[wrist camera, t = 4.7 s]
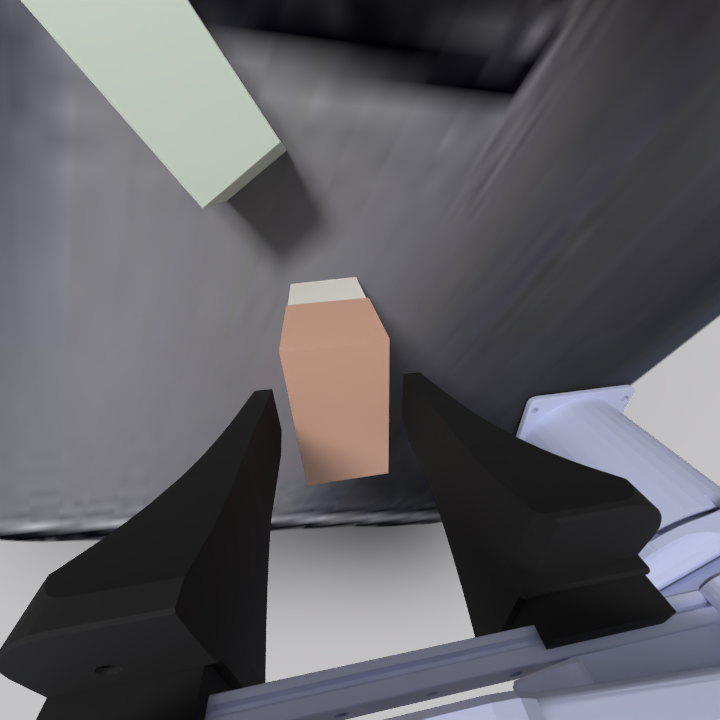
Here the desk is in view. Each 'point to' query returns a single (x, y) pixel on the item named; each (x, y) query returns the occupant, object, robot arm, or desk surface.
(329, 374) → the terracotta brick
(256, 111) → the sage brick
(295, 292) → the cream brick
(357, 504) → the desk surface
